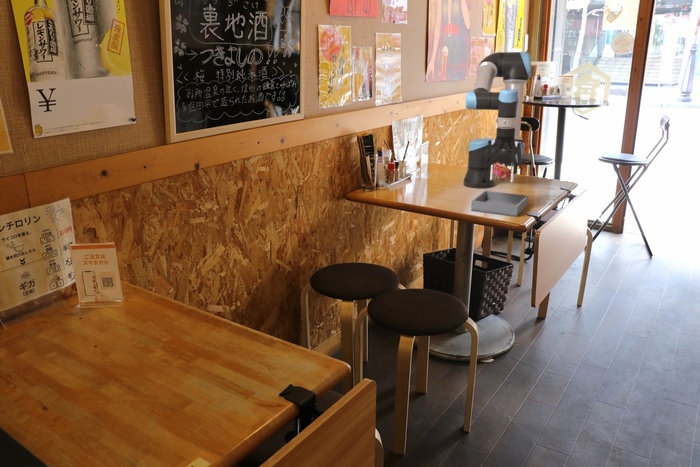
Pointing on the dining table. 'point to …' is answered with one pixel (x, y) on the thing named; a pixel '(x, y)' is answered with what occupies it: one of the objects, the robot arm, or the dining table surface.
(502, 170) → the flower
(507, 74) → the robot arm
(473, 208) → the bin
